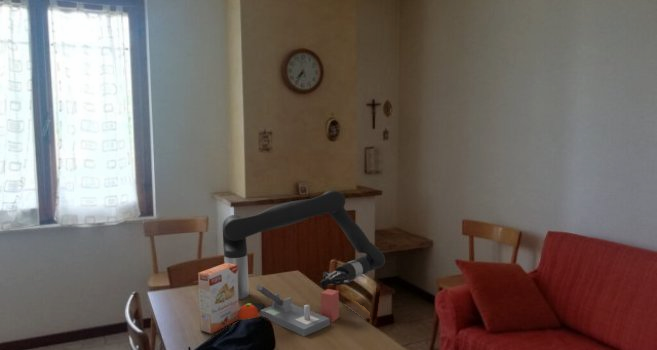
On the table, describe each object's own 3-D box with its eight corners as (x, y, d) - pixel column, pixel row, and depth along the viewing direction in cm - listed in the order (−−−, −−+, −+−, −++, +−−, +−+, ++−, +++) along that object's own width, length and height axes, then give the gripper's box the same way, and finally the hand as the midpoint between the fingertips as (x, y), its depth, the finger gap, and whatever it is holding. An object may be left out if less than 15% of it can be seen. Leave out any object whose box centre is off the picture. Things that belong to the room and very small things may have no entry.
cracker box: (212, 335, 166) (209, 275, 164) (199, 331, 169) (196, 272, 167) (240, 320, 178) (238, 264, 176) (228, 316, 181) (225, 261, 179)
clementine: (241, 318, 180) (240, 299, 179) (260, 318, 179) (259, 299, 179) (237, 327, 172) (236, 308, 171) (256, 327, 171) (256, 308, 171)
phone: (229, 317, 179) (248, 302, 193) (229, 320, 179) (248, 304, 194) (248, 320, 177) (265, 304, 191) (248, 322, 177) (265, 306, 191)
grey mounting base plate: (260, 316, 181) (259, 296, 180) (285, 307, 189) (285, 288, 188) (304, 336, 164) (303, 314, 163) (329, 325, 172) (329, 304, 171)
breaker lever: (278, 305, 183) (254, 288, 174) (280, 301, 183) (257, 284, 175) (285, 308, 180) (261, 291, 171) (288, 304, 180) (264, 286, 172)
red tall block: (321, 319, 177) (320, 292, 176) (328, 315, 181) (327, 288, 180) (332, 322, 175) (331, 295, 174) (339, 317, 179) (338, 291, 177)
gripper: (336, 259, 203) (307, 271, 190) (362, 265, 194) (333, 278, 182) (337, 277, 204) (308, 290, 191) (362, 283, 195) (334, 297, 183)
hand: (321, 284), depth 186 cm, fingers closed
